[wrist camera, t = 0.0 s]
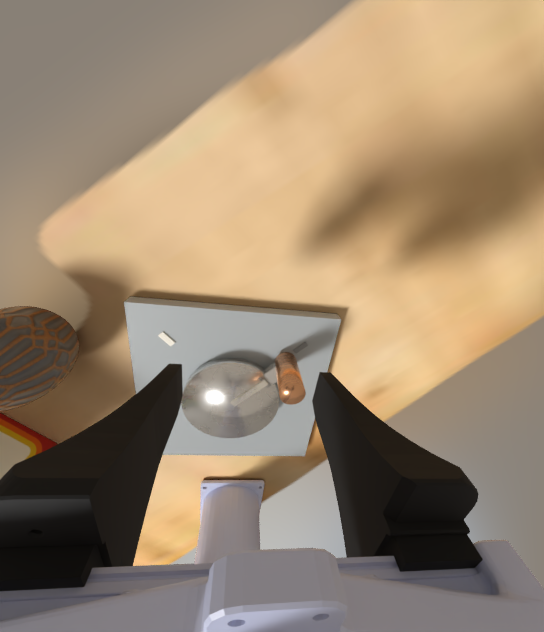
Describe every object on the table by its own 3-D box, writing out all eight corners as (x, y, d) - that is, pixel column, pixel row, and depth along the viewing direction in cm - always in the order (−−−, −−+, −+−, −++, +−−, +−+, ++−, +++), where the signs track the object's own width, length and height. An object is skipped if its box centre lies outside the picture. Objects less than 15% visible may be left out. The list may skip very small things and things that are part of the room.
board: (302, 447, 31) (304, 457, 30) (147, 444, 29) (143, 455, 28) (337, 313, 23) (341, 320, 22) (130, 296, 21) (123, 302, 20)
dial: (228, 441, 27) (224, 484, 23) (163, 393, 24) (146, 434, 20) (320, 383, 25) (334, 419, 21) (263, 320, 21) (266, 349, 17)
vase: (40, 278, 20) (-96, 333, 12) (110, 339, 23) (36, 416, 15) (-15, 323, 21) (-172, 400, 13) (58, 376, 24) (-36, 465, 16)
